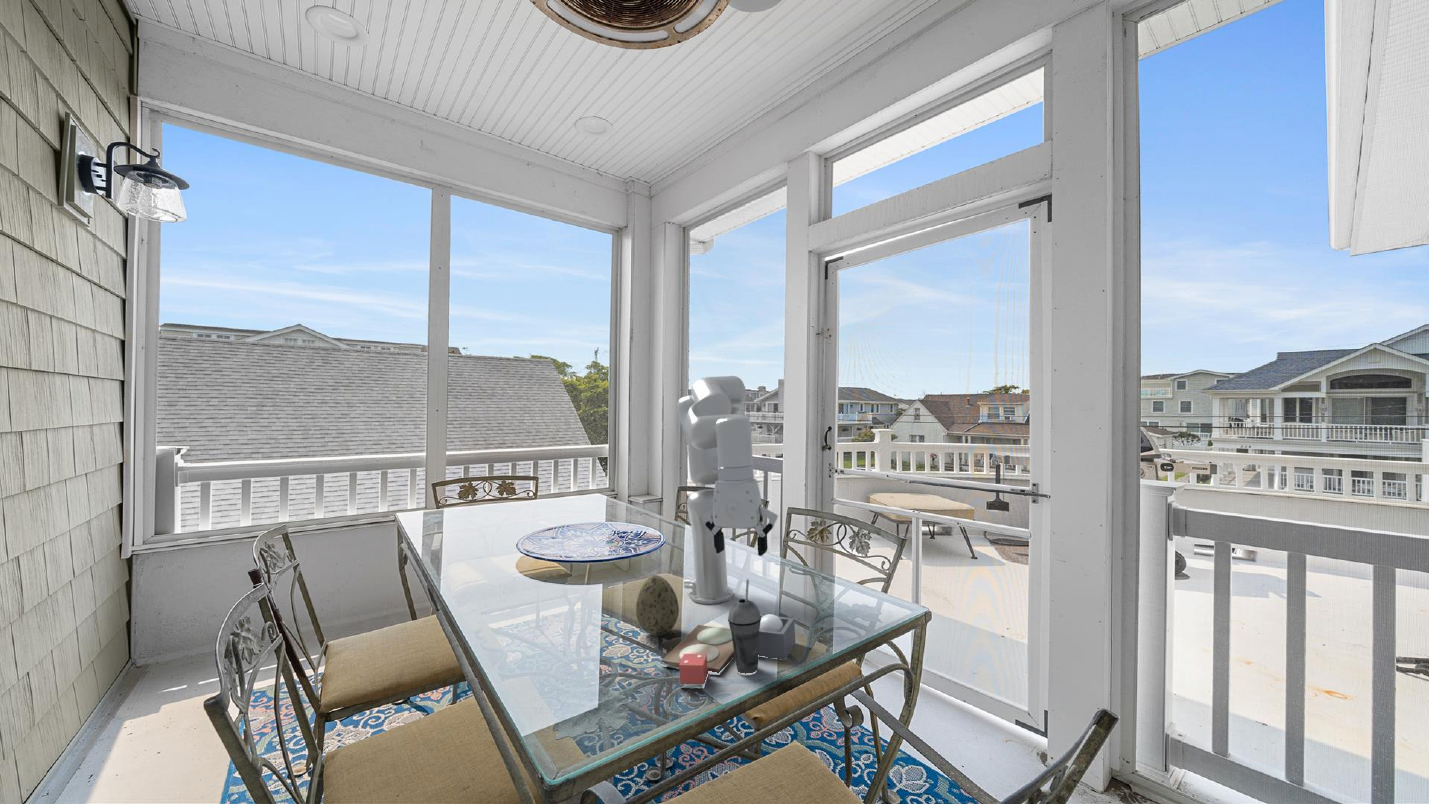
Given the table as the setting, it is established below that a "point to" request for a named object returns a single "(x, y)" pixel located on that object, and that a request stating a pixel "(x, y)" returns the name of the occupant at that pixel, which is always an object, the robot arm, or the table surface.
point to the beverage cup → (745, 633)
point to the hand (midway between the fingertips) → (740, 552)
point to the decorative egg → (657, 606)
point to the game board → (705, 647)
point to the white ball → (771, 623)
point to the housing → (777, 640)
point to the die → (693, 669)
